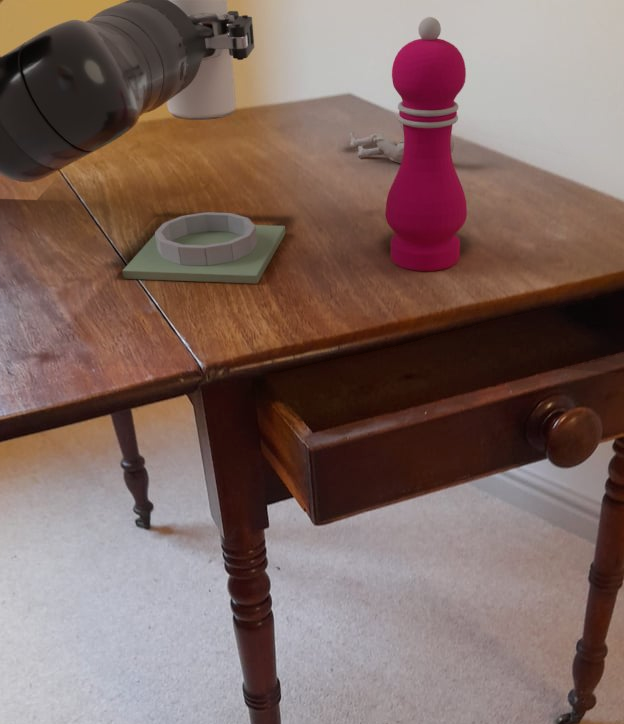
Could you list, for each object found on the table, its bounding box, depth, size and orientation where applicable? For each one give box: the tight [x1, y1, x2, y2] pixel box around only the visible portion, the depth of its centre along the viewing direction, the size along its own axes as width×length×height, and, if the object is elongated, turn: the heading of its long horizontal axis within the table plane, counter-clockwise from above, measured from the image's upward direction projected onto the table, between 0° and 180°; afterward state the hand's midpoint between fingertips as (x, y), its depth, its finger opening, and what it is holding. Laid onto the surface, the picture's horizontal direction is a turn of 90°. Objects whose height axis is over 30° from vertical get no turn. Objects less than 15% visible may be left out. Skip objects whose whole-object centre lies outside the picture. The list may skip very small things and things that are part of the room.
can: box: [166, 0, 237, 121], centre depth 80 cm, size 6×6×12 cm
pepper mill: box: [384, 16, 468, 272], centre depth 74 cm, size 7×7×20 cm
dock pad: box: [122, 211, 286, 285], centre depth 80 cm, size 12×12×2 cm
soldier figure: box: [349, 112, 455, 164], centre depth 103 cm, size 8×5×12 cm
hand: (199, 23), depth 81 cm, fingers closed on can, 6 cm apart
